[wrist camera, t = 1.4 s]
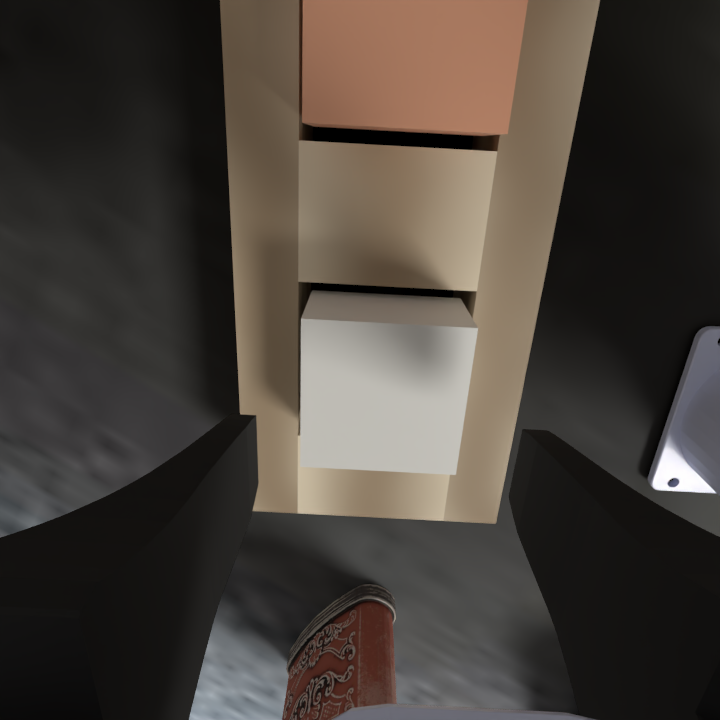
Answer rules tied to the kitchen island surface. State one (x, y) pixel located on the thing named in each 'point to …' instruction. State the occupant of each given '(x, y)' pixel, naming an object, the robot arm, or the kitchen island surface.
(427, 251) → the button panel
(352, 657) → the lighter
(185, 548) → the robot arm
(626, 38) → the kitchen island surface
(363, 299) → the grey button
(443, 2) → the terracotta button
